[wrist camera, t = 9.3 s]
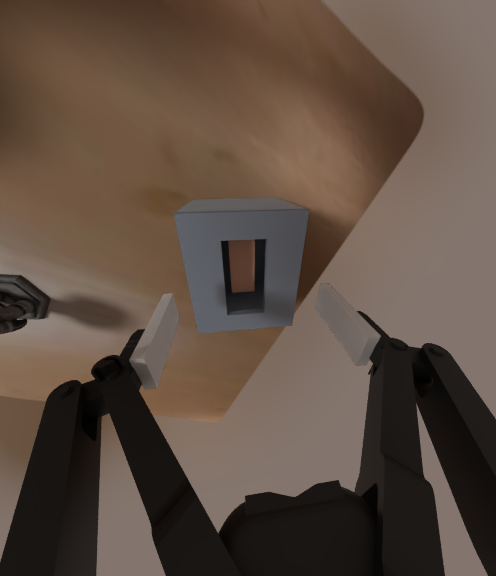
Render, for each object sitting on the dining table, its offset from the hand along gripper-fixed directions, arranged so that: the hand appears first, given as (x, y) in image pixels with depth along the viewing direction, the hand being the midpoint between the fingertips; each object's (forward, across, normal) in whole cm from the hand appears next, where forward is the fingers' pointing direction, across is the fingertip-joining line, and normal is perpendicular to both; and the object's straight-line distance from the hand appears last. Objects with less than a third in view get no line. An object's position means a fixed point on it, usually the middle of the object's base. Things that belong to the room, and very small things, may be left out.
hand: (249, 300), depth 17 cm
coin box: (+16, 0, 0) cm, 16 cm away
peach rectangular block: (+15, 0, 0) cm, 15 cm away
